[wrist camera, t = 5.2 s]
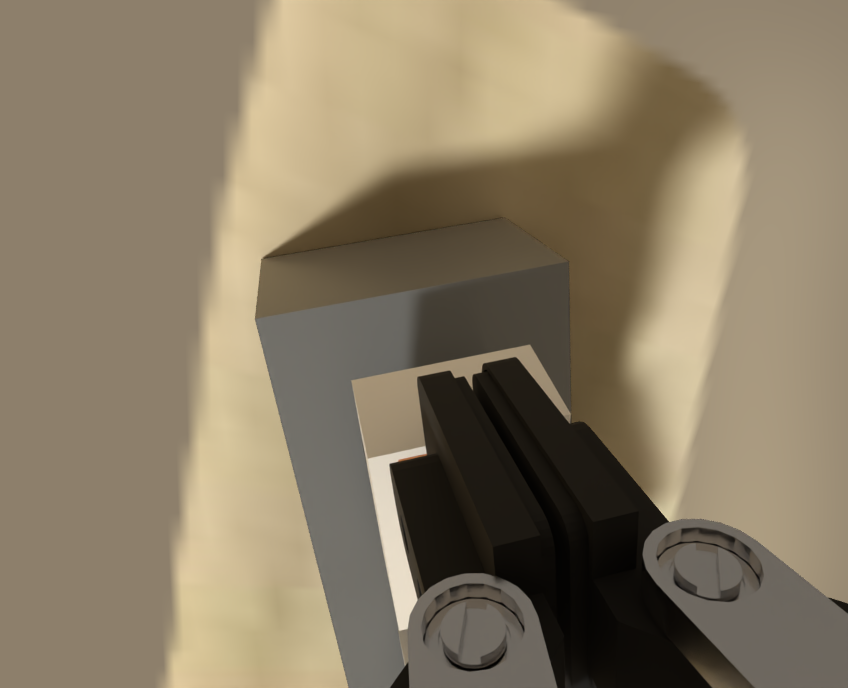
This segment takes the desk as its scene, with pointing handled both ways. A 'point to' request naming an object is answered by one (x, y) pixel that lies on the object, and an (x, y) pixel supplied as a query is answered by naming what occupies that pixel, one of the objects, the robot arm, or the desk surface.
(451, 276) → the rocker switch panel
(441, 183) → the desk surface
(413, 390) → the rocker
